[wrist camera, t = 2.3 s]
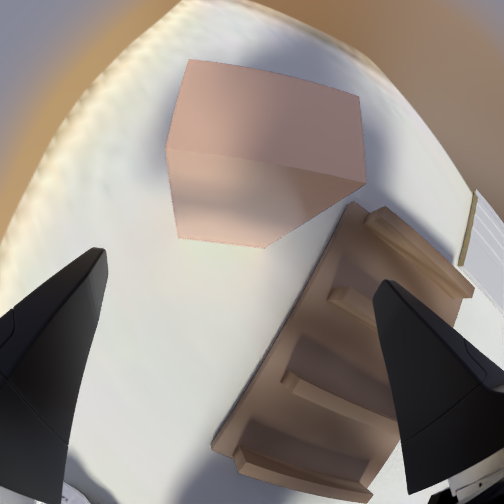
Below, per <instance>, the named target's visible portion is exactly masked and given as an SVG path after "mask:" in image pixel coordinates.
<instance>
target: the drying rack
mask: <svg viewBox="0 0 504 504" xmlns="http://www.w3.org/2000/svg"><path fill="white" fill-rule="evenodd" d="M384 279H390V280H395V281H396V282H397V283H399V284H400V285H401V286H403V287H404V288H405V289H406V290H408V291H409V292H410V293H411V294H413V295H414V296H415V297H416V298H418V299H419V300H420V301H421V302H422V303H424V304H425V305H426V306H427V307H429V308H430V309H431V310H432V311H433V312H435V313H436V314H437V315H438V316H439V317H441V318H442V319H443V320H444V321H445V322H446V323H448V324H449V325H450V326H451V327H452V328H453V326H454V324H455V321H456V318H457V315H458V312H459V309H460V306H461V303H462V299H463V298H472V296H473V293H474V289H475V288H474V287H473V285H472V284H471V283H470V282H469V281H468V280H467V279H466V278H465V277H464V276H463V275H462V274H461V273H460V272H459V271H458V270H457V269H456V268H455V267H454V266H453V265H452V264H451V263H449V262H448V261H447V260H446V259H445V258H444V257H443V256H442V255H441V254H440V253H439V252H438V251H437V250H436V249H435V248H434V247H432V246H431V245H430V244H429V243H428V242H427V241H426V240H425V239H424V238H423V237H421V236H420V235H419V234H418V233H417V232H416V231H415V230H413V229H412V228H411V227H410V226H409V225H408V224H407V223H405V222H404V221H403V220H402V219H401V218H399V217H398V216H397V215H396V214H395V213H393V212H392V211H391V210H390V209H389V208H387V207H386V206H384V207H382V208H380V209H378V210H376V211H374V212H372V213H369V212H368V211H366V210H365V209H364V208H362V207H361V206H360V205H358V204H357V203H356V202H354V201H353V202H351V203H349V204H348V205H347V207H346V209H345V211H344V213H343V215H342V217H341V219H340V221H339V223H338V225H337V227H336V229H335V231H334V233H333V235H332V237H331V239H330V241H329V243H328V245H327V247H326V249H325V251H324V253H323V255H322V257H321V259H320V261H319V263H318V264H317V266H316V268H315V270H314V272H313V274H312V276H311V278H310V280H309V281H308V283H307V285H306V287H305V289H304V291H303V293H302V294H301V296H300V298H299V300H298V302H297V303H296V305H295V307H294V309H293V311H292V312H291V314H290V316H289V318H288V320H287V321H286V323H285V325H284V327H283V328H282V330H281V332H280V334H279V335H278V337H277V339H276V341H275V342H274V344H273V346H272V347H271V349H270V351H269V352H268V354H267V356H266V358H265V359H264V361H263V363H262V364H261V366H260V368H259V369H258V371H257V372H256V374H255V376H254V377H253V379H252V381H251V382H250V384H249V386H248V387H247V389H246V390H245V392H244V394H243V395H242V397H241V398H240V400H239V401H238V403H237V405H236V406H235V408H234V409H233V411H232V412H231V414H230V416H229V417H228V419H227V420H226V422H225V423H224V425H223V426H222V428H221V429H220V431H219V432H218V434H217V435H216V437H215V438H214V440H213V441H212V443H211V448H212V450H213V451H215V452H217V453H220V454H222V455H225V456H227V457H230V458H232V459H234V462H235V465H236V468H237V471H238V473H240V474H243V475H246V476H249V477H252V478H255V479H258V480H261V481H264V482H267V483H271V484H274V485H278V486H281V487H285V488H289V489H292V490H296V491H300V492H305V493H309V494H313V495H318V496H323V497H328V498H333V499H339V500H345V501H351V502H358V503H365V504H367V503H368V501H369V500H370V499H371V497H372V496H373V494H372V493H371V492H370V491H369V490H368V489H367V488H368V486H369V485H370V484H371V482H372V481H373V480H374V478H375V477H376V475H377V474H378V472H379V471H380V470H381V468H382V467H383V465H384V464H385V462H386V461H387V459H388V458H389V456H390V455H391V453H392V452H393V450H394V448H395V447H396V445H397V444H398V442H399V440H400V434H399V428H398V423H397V417H396V412H395V407H394V402H393V397H392V393H391V388H390V384H389V379H388V375H387V371H386V366H385V362H384V358H383V354H382V350H381V346H380V342H379V338H378V332H377V326H376V320H375V314H374V309H373V304H372V299H373V295H374V294H375V292H376V290H377V289H378V287H379V285H380V283H381V282H382V281H383V280H384Z"/></svg>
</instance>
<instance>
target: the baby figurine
mask: <svg viewBox="0 0 504 504" xmlns="http://www.w3.org/2000/svg"><path fill="white" fill-rule="evenodd" d="M36 502H37V500H35V501H34V504H36ZM39 504H46V503H43V502H40V501H39ZM61 504H91V503H90V502H89V501H88V500H87V498H86V497H85V496H84V495H83V494H82V493H80V492H79V491H78V490H77V489H75V488H73V487H71V486H70V485H68V484H67V483H65V482H63V490H62V501H61Z"/></svg>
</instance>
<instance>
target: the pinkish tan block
mask: <svg viewBox="0 0 504 504" xmlns="http://www.w3.org/2000/svg"><path fill="white" fill-rule="evenodd" d="M165 150H166V159H167V167H168V174H169V182H170V189H171V196H172V203H173V210H174V216H175V222H176V228H177V235H178V238H181V239H190V240H198V241H207V242H215V243H224V244H232V245H240V246H249V247H257V248H266V247H268V246H269V245H271V244H272V243H274V242H275V241H277V240H279V239H280V238H282V237H283V236H285V235H286V234H288V233H290V232H291V231H293V230H294V229H296V228H298V227H299V226H301V225H302V224H304V223H305V222H307V221H309V220H310V219H312V218H313V217H315V216H316V215H318V214H320V213H321V212H323V211H324V210H326V209H327V208H329V207H331V206H332V205H334V204H335V203H337V202H338V201H340V200H342V199H343V198H345V197H346V196H348V195H349V194H351V193H353V192H354V191H356V190H357V189H359V188H360V187H362V186H364V185H365V184H366V168H365V153H364V140H363V129H362V119H361V110H360V102H359V97H358V96H356V95H353V94H350V93H347V92H344V91H340V90H337V89H334V88H331V87H327V86H324V85H321V84H317V83H313V82H310V81H306V80H302V79H298V78H294V77H290V76H286V75H282V74H278V73H273V72H268V71H264V70H259V69H253V68H248V67H242V66H236V65H230V64H224V63H217V62H209V61H201V60H191V59H189V60H188V63H187V67H186V70H185V73H184V77H183V80H182V84H181V87H180V91H179V95H178V98H177V102H176V106H175V110H174V114H173V118H172V122H171V126H170V130H169V134H168V139H167V143H166V148H165Z"/></svg>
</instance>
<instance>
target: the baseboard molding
mask: <svg viewBox="0 0 504 504" xmlns="http://www.w3.org/2000/svg"><path fill="white" fill-rule="evenodd" d="M471 193H472V194H473V201H472V206H471V212H470V217H469V222H468V226H467V231H466V235H465V239H464V243H463V247H462V251H461V255H460V259H459V263H458V267H459V268H460V269H461V270H462V271H463V272H464V273H465V274H466V275H467V276H468V277H469V278H470V279H471V280H472V281H473V282H474V284H475V285H476V286H477V287H478V288H479V289H480V290H481V291H482V292H483V293H484V294H485V296H486V297H487V298H488V299H489V300H490V301H491V302H492V303H493V305H494V306H495V307H496V308H497V309H498V310H499V312H500V313H501V314H502V315H503V316H504V223H503V222H502V221H501V219H500V218H499V217H498V215H497V214H496V213H495V212H494V210H493V209H492V208H491V206H490V205H489V204H488V203H487V201H486V200H485V199H484V198H483V197H482V195H481V194H480V193H479V192H478V191H477V190H476V189H475V190H472V191H471Z"/></svg>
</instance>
